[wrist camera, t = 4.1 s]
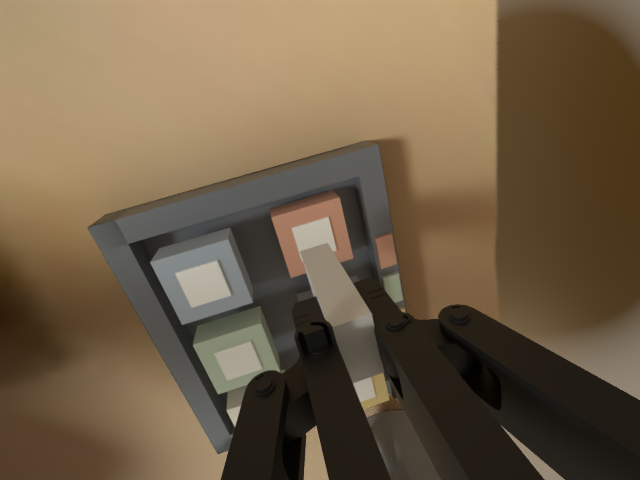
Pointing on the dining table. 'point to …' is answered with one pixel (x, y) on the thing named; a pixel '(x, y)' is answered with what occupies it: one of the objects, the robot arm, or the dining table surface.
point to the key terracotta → (311, 228)
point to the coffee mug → (401, 447)
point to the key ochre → (372, 391)
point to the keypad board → (248, 257)
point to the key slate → (203, 276)
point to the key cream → (236, 402)
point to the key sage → (236, 349)
